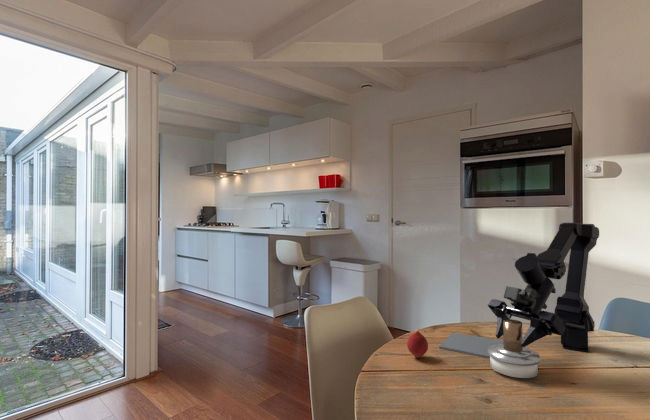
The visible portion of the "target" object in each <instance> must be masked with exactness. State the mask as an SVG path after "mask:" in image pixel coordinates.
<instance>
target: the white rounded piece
mask: <svg viewBox="0 0 650 420" xmlns="http://www.w3.org/2000/svg"><path fill="white" fill-rule="evenodd" d="M538 364H539V363H538ZM538 364H536V365H531V366H520V365H513V364H508V363H504V362H501V361H498V360H496V359H494V358H492V357H491V356H490V358H489V366H490V368H491V369H492V370H494V371H495V372H497V373H498V374H502V375H505V376H509V377H512V378H520V379H531V378H535V377H537V376H538V374H539V369H538V368H539V365H538Z"/></svg>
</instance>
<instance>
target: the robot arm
mask: <svg viewBox="0 0 650 420" xmlns="http://www.w3.org/2000/svg"><path fill="white" fill-rule="evenodd" d="M599 237H600V229H599V227H597V226H595V224H594V223H579V222H562V223H560V224H559V226H558V230H557V232H556V234H555V236H554V237H553V239H552V241H551V243H550V244H549V246H548V247H547V249H546V250H544V251H542V252H540V253H539V254H536V253H533V252H527V253H526V255H524V256H523V255H522V256H521V257H519V258H518V259H517V260H515V263H514V267H515V269H516V271H517V273H518V274H519V276H520V278H521V279H522V280H523V282H524V283H525V284H526V286H525V288H524V289H522V288H518V287H513V286H508V285H507V286H506V287H505V289H504V294H503V298H504V299H507V300H509V301H510V304H511V306H512V307H513V308H512V307H509V305H508V304H507V302H505V301H504V300H499V299H495V298H494V299H490V300H489V302H488V303H487V307H488V308H489V309H490V310H491V312H492V313H493V314H494V315H495V317H496V318H497V324H496V331H495V337H496V338H497V340H499V339H500V338H501V337H503V320H505V319H511V318H512V317H516V318H520V319H524V320H527V321H529V322H530V324H529V326H528V329H527V331H526V333H525V334H524V336H523V337H522V342H521V346H522V347H525V348H527V346H529V345H531V344H533V343H534V342H537V341H538V340H540V339H542V338H544V337H547V336H552V335H553V334H554V335H556V336H557V335H558V336H560V345H562V348H563V349H567V350H573V351H579V352H580V351H581V352H585V353H589V352H590V349H589V333H590V332H595V327H596V326H595V320H594V319H593V317H592V315H591V313H590V307H589V305H588V303H587V301H586V299H585V297H584V296H585V288H586V277H587V269H588V262H589V261H588V260H589V253H590V252H591V250H593V249H594V248H595V247H596V246H597V241H598V239H599ZM568 254H569V258H568V259H569V260H568V266H566V264H565V259H566V257H567V256H568ZM566 271H567V273H566ZM565 274H567V275H566V283H565V289H564V293H563V294H562V295H561V296H558V297H557V298H556V305H555V307H554V312H551V311H546V310H547V307H548V305H547V304H546V303H547V301H548V299H549V297H550V295H551V294H556V293H557V292H556V288H555V283H554V282H553V281H552V280H561V279H562V278H563V277H564V276H565ZM551 279H552V280H551ZM542 309H543V310H542Z"/></svg>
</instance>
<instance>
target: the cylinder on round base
mask: <svg viewBox="0 0 650 420" xmlns="http://www.w3.org/2000/svg"><path fill="white" fill-rule="evenodd" d="M502 337H503V340H502V341H503V342H504V344H496V345H491V346H489V347H488V354H489V356H491V357H492V358H494V359H496V360H498V361H501V362H504V363H508V364H513V365H520V366H531V365H536V364H539V363H540V362H541V356H540V354H539V353H537V352H536V351H535V350H533V349H530V348H528V347H522V346H521V342H522V340H523V322H522V321H520V320H517V319H511V318H510V319H505V320H503V335H502Z"/></svg>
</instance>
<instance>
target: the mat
mask: <svg viewBox="0 0 650 420" xmlns="http://www.w3.org/2000/svg"><path fill="white" fill-rule="evenodd" d="M496 344H504V342H503V340H499V339H493V338H487V337H483V336H476V335H471V334H464V333H459V332H458V333H457V332H451V334H450V335H448V336H447V337H446V338H445V339H444V341H443V342H442V343H440V345H439V346H438V348H439V349H442V350H447V351H451V352H458V353H461V354H466V355H471V356H475V357H481V358H486V359H490V356H489V354H488V347H489V346H491V345H496Z"/></svg>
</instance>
